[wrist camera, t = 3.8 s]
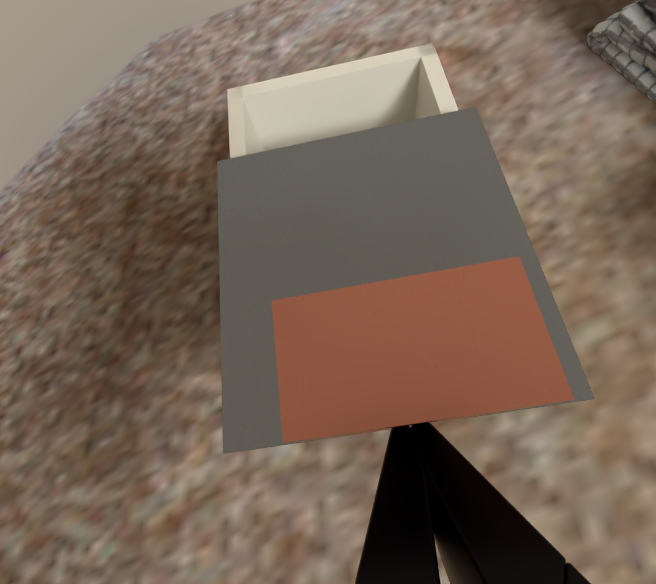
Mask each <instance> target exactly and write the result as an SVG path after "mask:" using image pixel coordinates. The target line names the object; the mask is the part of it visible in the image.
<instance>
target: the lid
mask: <svg viewBox="0 0 656 584" xmlns="http://www.w3.org/2000/svg"><path fill="white" fill-rule="evenodd" d="M217 186H218V233H219V281H220V328H221V375H222V422H223V454H226V453H233V452H240V451H247V450H253V449H260V448H267V447H274V446H280V445H287V444H294V443H301V442H307V441H314V440H321V439H328V438H335V437H341V436H348V435H355V434H362V433H368V432H375V431H382V430H389V429H392V428H395V427H402V426H412V425H416V424H422V423H436V422H443V421H450V420H456V419H463V418H470V417H477V416H483V415H490V414H497V413H504V412H511V411H517V410H524V409H531V408H538V407H544V406H551V405H558V404H565V403H571V402H578V401H585V400H591V399H595V398H594V396H593V393H592V391H591V388H590V386H589V383H588V381H587V379H586V376H585V374H584V371H583V369H582V366H581V364H580V361H579V359H578V356H577V354H576V352H575V349H574V347H573V344H572V342H571V339H570V337H569V334H568V332H567V329H566V327H565V325H564V322H563V320H562V317H561V315H560V312H559V310H558V307H557V305H556V302H555V300H554V298H553V295H552V293H551V290H550V288H549V285H548V283H547V280H546V278H545V275H544V273H543V271H542V268H541V266H540V263H539V261H538V258H537V256H536V253H535V251H534V248H533V246H532V244H531V241H530V239H529V236H528V234H527V231H526V229H525V226H524V224H523V221H522V219H521V217H520V214H519V212H518V209H517V207H516V204H515V202H514V199H513V197H512V194H511V192H510V190H509V187H508V185H507V182H506V180H505V177H504V175H503V172H502V170H501V167H500V165H499V163H498V160H497V158H496V155H495V153H494V150H493V148H492V145H491V143H490V140H489V138H488V136H487V133H486V131H485V128H484V126H483V123H482V121H481V118H480V116H479V113H478V111H477V109H476V107H472V108H467V109H462V110H457V111H453V112H448V113H443V114H439V115H434V116H429V117H424V118H420V119H415V120H410V121H405V122H401V123H396V124H391V125H386V126H382V127H377V128H372V129H367V130H363V131H358V132H353V133H348V134H344V135H339V136H334V137H329V138H325V139H320V140H315V141H310V142H306V143H301V144H296V145H291V146H287V147H282V148H277V149H273V150H268V151H263V152H258V153H254V154H249V155H244V156H239V157H235V158H230V159H225V160H220V161H217Z"/></svg>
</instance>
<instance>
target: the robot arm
mask: <svg viewBox="0 0 656 584" xmlns="http://www.w3.org/2000/svg"><path fill="white" fill-rule="evenodd" d="M434 538H435V539H434ZM435 541H436V544H437V547H438V550H439V553H440V556H441V559H442V562H443V564H444V567H445V570H446V573H447V576H448V579H449V581H450V584H590V583H589V582H588V581H587V579H586V578H585V577H584V576H583V575H582V574H581V573H580V572H579V571H578V570H577V569H576V568H575V567H574V566H573V565H572V564H570V563H566V560H565V558H564V557H563V556H562V555H561V554H560V553H559V552H558V551H557V550H556V549H555V548H554V547H553V546H552V545H551V544H550V543H549V542H548V541H547V540H546V539H545V538H544V537H543V536H542V535H541V534H540V533H539V532H538V531H537V530H536V529H535V528H534V527H533V526H532V525H531V524H530V523H529V522H528V521H527V520H526V519H525V518H524V517H523V516H522V515H521V514H520V513H519V512H518V511H517V510H516V509H515V508H514V507H513V506H512V505H511V504H510V503H509V502H508V501H507V500H506V499H505V498H504V497H503V495H502V494H501V493H500V492H499V491H498V490H497V489H496V488H495V487H494V486H493V485H492V484H491V483H490V482H489V481H488V480H487V479H486V478H485V477H484V476H483V475H482V474H481V473H480V472H479V471H478V470H477V469H476V468H475V467H474V466H473V465H472V464H471V463H470V462H469V461H468V460H467V459H466V458H465V457H464V456H463V455H462V454H461V453H460V452H459V451H458V450H457V449H456V448H455V447H454V446H453V445H452V444H451V443H450V442H449V441H448V440H447V439H446V438H445V437H444V436H443V435H442V434H441V433H440V432H439V431H438V430H437V429H436V428H435V427H434V426H433V425H432V424H430V423H422V424H416V425H412V426H411V427H410V426H402V427H395V428H392V429H391V432H390V436H389V440H388V445H387V449H386V453H385V457H384V462H383V466H382V470H381V474H380V479H379V483H378V487H377V491H376V496H375V500H374V504H373V508H372V513H371V517H370V521H369V525H368V530H367V534H366V538H365V542H364V547H363V551H362V555H361V560H360V564H359V568H358V572H357V577H356V581H355V584H440V577H439V569H438V562H437V554H436V547H435Z"/></svg>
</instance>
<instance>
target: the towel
mask: <svg viewBox="0 0 656 584" xmlns="http://www.w3.org/2000/svg"><path fill="white" fill-rule="evenodd" d="M587 40H588V46H589V47H590V49H591V50H592V51H593V52H595V53H597V54H599V55H601V57H602V58H603V60H605V61H606V62H607V63H609V64H611V65H613V67H614V68H615V69H616V70H617V71H618V72H620V73H622V74H623V75H624V76H625V77H626V78H627V79H628V80H629V81H630V82H631V83H633V84H634V85H635V86H636V87H637V88H638V89H639V90H641V91H642V92H643V93H644V94H646V95H647V97H648V98H649V99H651V100H652V101H654V102H655V103H656V0H638V1H636V2H635V3H631V4H629V5H627V6H626V7H624V8H622V9H621V11H620V12H616V13H615V14H613V15H612V16H610V17H608V18H607V19H606V20H605V21H604V22H601V23H599V24H597V25H596V27H595V28H594V29H593V30H592V31H591V32H590V33H589V34H588V37H587Z"/></svg>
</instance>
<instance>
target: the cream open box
mask: <svg viewBox="0 0 656 584" xmlns="http://www.w3.org/2000/svg"><path fill="white" fill-rule="evenodd" d="M227 93H228V119H229V144H230V158H235V157H239V156H244V155H249V154H254V153H258V152H263V151H268V150H273V149H277V148H282V147H287V146H291V145H296V144H301V143H306V142H310V141H315V140H320V139H325V138H329V137H334V136H339V135H344V134H348V133H353V132H358V131H363V130H367V129H372V128H377V127H382V126H386V125H391V124H396V123H401V122H405V121H410V120H415V119H420V118H424V117H429V116H434V115H439V114H443V113H448V112H453V111H457V110H458V108H457V105H456V103H455V100H454V97H453V95H452V92H451V89H450V87H449V84H448V82H447V79H446V76H445V74H444V71H443V68H442V66H441V63H440V60H439V58H438V55H437V53H436V50H435V47H434V45H433V43H431V44H426V45H422V46H418V47H413V48H409V49H404V50H400V51H395V52H391V53H387V54H382V55H378V56H373V57H369V58H364V59H360V60H356V61H351V62H347V63H342V64H338V65H333V66H329V67H325V68H320V69H316V70H311V71H307V72H302V73H298V74H294V75H289V76H285V77H280V78H276V79H271V80H267V81H263V82H258V83H254V84H249V85H245V86H240V87H236V88H231V89H227Z"/></svg>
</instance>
